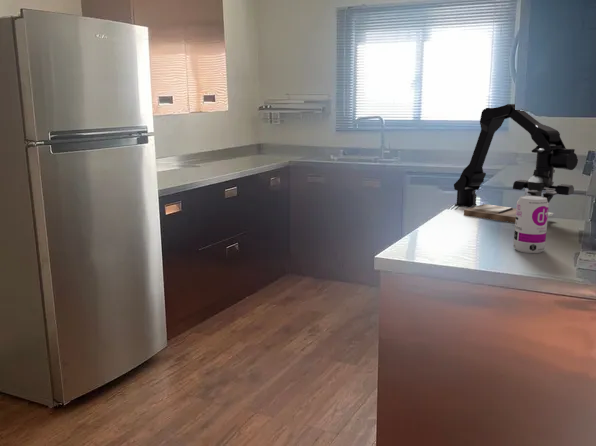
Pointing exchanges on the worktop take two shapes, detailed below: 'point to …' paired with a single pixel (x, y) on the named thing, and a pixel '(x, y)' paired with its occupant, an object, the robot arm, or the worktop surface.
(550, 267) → the worktop surface
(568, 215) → the worktop surface
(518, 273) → the worktop surface
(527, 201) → the supplement can
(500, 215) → the tan backing board
